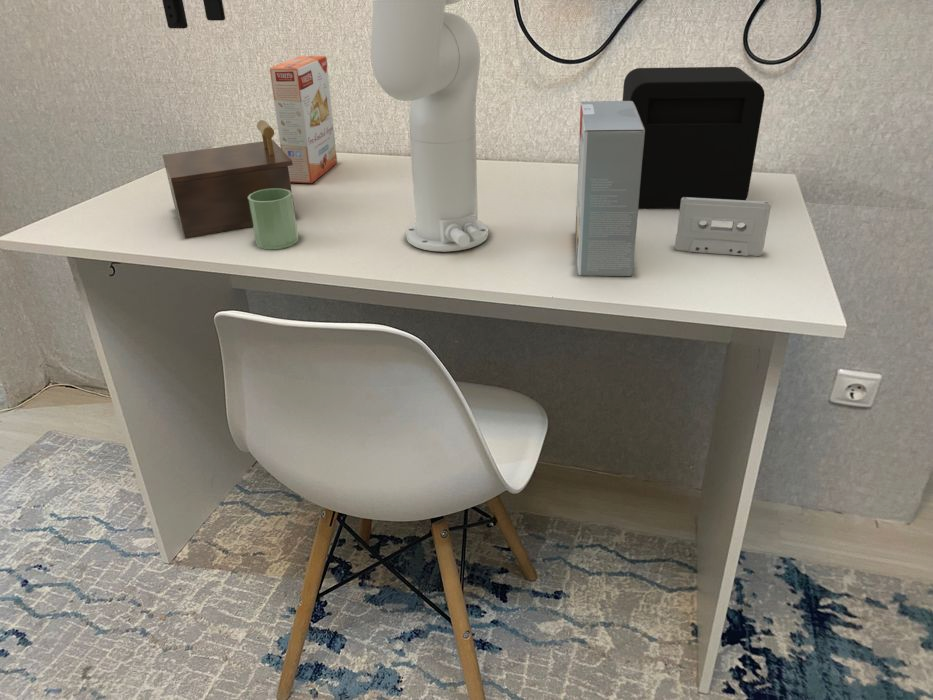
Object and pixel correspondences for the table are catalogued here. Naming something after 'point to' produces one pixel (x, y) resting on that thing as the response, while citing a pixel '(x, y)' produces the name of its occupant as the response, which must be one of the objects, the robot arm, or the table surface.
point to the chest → (222, 199)
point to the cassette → (722, 238)
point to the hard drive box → (608, 187)
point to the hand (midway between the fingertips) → (197, 24)
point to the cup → (273, 218)
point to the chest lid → (227, 159)
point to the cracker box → (304, 116)
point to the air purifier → (695, 132)
